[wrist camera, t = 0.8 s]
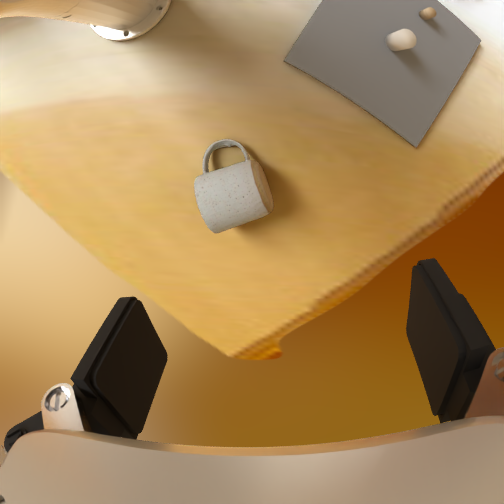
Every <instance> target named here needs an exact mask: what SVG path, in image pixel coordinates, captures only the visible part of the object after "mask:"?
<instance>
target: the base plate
mask: <svg viewBox="0 0 504 504" xmlns="http://www.w3.org/2000/svg"><path fill="white" fill-rule="evenodd" d="M428 7H432V8H433V9H435V11H436V16H435V17H433V18H430V19H428V20H423V19H421V18H420V16H419V12H420V11H421V10H424V9H426V8H428ZM480 42H481V40H480V39H479V38H478V37H477V36H476V35H475V34H474V33H473V32H472V31H471V30H470V29H469V28H468V27H467V26H466V25H465V24H464V23H463V22H462V21H461V20H459V19H458V18H457V17H456V16H455V15H454V14H453V13H452V12H450V11H449V10H448V9H447V8H446V7H444V6H443V5H442V4H441V3H440V2H438V1H437V0H323V1H322V2H321V4H320V5H319V7H318V8H317V10H316V11H315V13H314V14H313V16H312V17H311V19H310V20H309V22H308V23H307V25H306V26H305V28H304V29H303V31H302V33H301V34H300V36H299V37H298V39H297V40H296V42H295V44H294V45H293V47H292V48H291V50H290V52H289V53H288V55H287V57H286V58H285V60H284V61H285V62H287V63H289V64H290V65H292V66H294V67H296V68H298V69H299V70H301V71H303V72H305V73H307V74H308V75H310V76H312V77H314V78H315V79H317V80H319V81H320V82H322V83H324V84H325V85H327V86H329V87H330V88H332V89H333V90H335V91H337V92H338V93H340V94H341V95H343V96H345V97H346V98H348V99H349V100H351V101H352V102H354V103H355V104H357V105H358V106H360V107H361V108H363V109H364V110H366V111H367V112H368V113H370V114H371V115H373V116H374V117H376V118H377V119H378V120H380V121H381V122H382V123H384V124H385V125H387V126H388V127H389V128H391V129H392V130H393V131H395V132H396V133H397V134H399V135H400V136H401V137H402V138H404V139H405V140H406V141H408V142H409V143H410V144H411V145H413V146H414V147H417V146H418V144H419V143H420V141H421V140H422V138H423V137H424V135H425V134H426V132H427V131H428V129H429V128H430V126H431V124H432V123H433V121H434V120H435V118H436V117H437V115H438V113H439V112H440V110H441V109H442V107H443V105H444V104H445V102H446V101H447V99H448V97H449V96H450V94H451V92H452V91H453V89H454V87H455V86H456V84H457V82H458V81H459V79H460V77H461V75H462V74H463V72H464V70H465V69H466V67H467V65H468V63H469V62H470V60H471V58H472V56H473V55H474V53H475V51H476V49H477V47H478V45H479V44H480Z"/></svg>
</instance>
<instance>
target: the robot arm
mask: <svg viewBox="0 0 504 504" xmlns="http://www.w3.org/2000/svg"><path fill="white" fill-rule="evenodd" d="M170 3H171V0H0V18H3V17H15V16H25V17H40V18H49V19H57V20H64V21H71V22H78V23H84V24H89V25H90V26H91V27H92V29H93V30H94V31H95V32H96V33H97V34H98V35H99V36H101V37H103V38H106V39H110V40H117V41H122V40H129V39H133V38H136V37H138V36H140V35H143V34H144V33H146V32H147V31H149V30H150V29H152V28H153V27H154V26H155V25H156V24H157V23H158V22H159V21H160V20H161V19H162V17H163V16H164V15H165V13H166V11H167V10H168V8H169V5H170ZM161 8H162V10H160V9H161ZM128 33H129V35H128ZM406 331H407V337H408V340H409V343H410V345H411V348H412V351H413V354H414V357H415V360H416V363H417V365H418V368H419V371H420V374H421V378H422V381H423V384H424V387H425V390H426V393H427V396H428V400H429V403H430V406H431V410H432V413H433V415H434V416H436V415H438V417H439V420H440V423H441V424H437V425H432V426H428V427H423V428H419V429H414V430H409V431H404V432H399V433H394V434H388V435H382V436H376V437H370V438H364V439H357V440H350V441H343V442H334V443H324V444H314V445H300V446H283V447H250V448H249V447H208V446H191V445H178V444H167V443H158V442H149V441H142V440H136V439H137V436H138V433H141V432H142V430H143V427H144V424H145V421H146V418H147V415H148V413H149V410H150V407H151V404H152V401H153V399H154V396H155V393H156V390H157V387H158V385H159V382H160V379H161V376H162V373H163V370H164V368H165V365H166V362H167V352H166V350H165V348H164V346H163V344H162V342H161V340H160V338H159V337H158V334H157V333H156V331H155V329H154V327H153V325H152V323H151V321H150V319H149V316H148V314H147V312H146V310H145V308H144V306H143V304H142V302H141V301H140V300H137V298H136V297H122V298H119V299H118V301H117V302H116V304H115V305H114V307H113V309H112V310H111V312H110V313H109V315H108V317H107V318H106V320H105V321H104V323H103V324H102V326H101V328H100V329H99V331H98V333H97V334H96V336H95V338H94V339H93V341H92V342H91V344H90V346H89V347H88V349H87V351H86V353H85V354H84V356H83V358H82V359H81V361H80V363H79V364H78V366H77V368H76V370H75V371H74V373H73V375H72V377H71V380H72V381H73V382H74V385H73V387H72V386H70V385H69V384H66V383H60V384H57V385H55V386H53V387H52V388H50V389H49V390H48V391H47V392H46V394H45V395H44V397H43V399H42V402H41V409H42V411H40V412H38V413H37V414H35V415H33V416H31V417H30V418H28V419H26V420H25V421H23V422H21V423H19V424H17V425H16V426H14V427H13V428H11V429H10V430H9V431H8V432H7V435H6V437H5V441H4V447H5V448H4V447H3V446H1V447H0V504H504V348H499V349H497V350H496V349H495V347H494V345H493V344H492V342H491V340H490V338H489V336H488V335H487V333H486V331H485V329H484V328H483V326H482V324H481V323H480V321H479V319H478V318H477V316H476V314H475V313H474V311H473V309H472V308H471V306H470V305H469V303H468V302H467V300H466V298H465V297H464V296H463V295H462V294H459V293H458V292H457V290H456V289H455V287H454V286H453V284H452V282H451V281H450V280H449V278H448V276H447V275H446V274H445V272H444V270H443V269H442V268H441V266H440V265H439V263H438V262H437V260H436V259H434V258H433V259H426V260H420V261H418V263H417V266H414V267H413V269H412V280H411V291H410V301H409V311H408V319H407V327H406ZM447 421H451V422H447ZM443 422H446V423H443ZM121 437H122V438H121Z"/></svg>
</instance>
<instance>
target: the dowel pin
mask: <svg viewBox="0 0 504 504" xmlns="http://www.w3.org/2000/svg"><path fill="white" fill-rule="evenodd" d="M419 16H420V18H421V19H423V20H428V19H430V18H433V17H435V16H436V11H435V9H433V8H432V7H428V8H426V9H424V10H421V11H420V12H419Z"/></svg>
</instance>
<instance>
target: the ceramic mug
mask: <svg viewBox="0 0 504 504" xmlns="http://www.w3.org/2000/svg"><path fill="white" fill-rule="evenodd" d="M233 145H236V146H238V147H239V148H240V149H241V150H242V152H243V154H244V156H245V161H244V162H240V163H237V164H234V165H231V166H228V167H225V168H221V169H218V170H215V171H211V172H209V170H208V162H209V157H210V155H211V153H212V152H213V151H214V150H215V149H218V148H222V147H226V146H229V147H231V146H233ZM194 189H195V197H196V201H197V205H198V208H199V210H200V213H201V216H202V218H203V219H204V221H205V223H206V225H207V226H208V228H209V229H210V230H211V231H212V232H214V233H220V232H223V231H226V230H228V229H231V228H234V227H236V226H239V225H242V224H245V223H247V222H250V221H253V220H256V219H259V218H262V217H264V216H266V215H268V214H269V213H271V212H272V211H273V208H274V203H273V198H272V194H271V191H270V188H269V184H268V182H267V179H266V176H265V174H264V171H263V169H262V167H261V165H260V164H259V163H258V162H256V161H251V160H250V157H249V154H248V153H247V151H246V149H245V148H244V147H243V146H242V145H241V144H240V143H239V142H237V141H235V140H231V139H224V140H219V141H216V142H214V143H213V144H211V145H210V146H209V147H208V149H207V150H206V152H205V154H204V157H203V174H202V175H200V176H197V177H196V179H195V183H194Z"/></svg>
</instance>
